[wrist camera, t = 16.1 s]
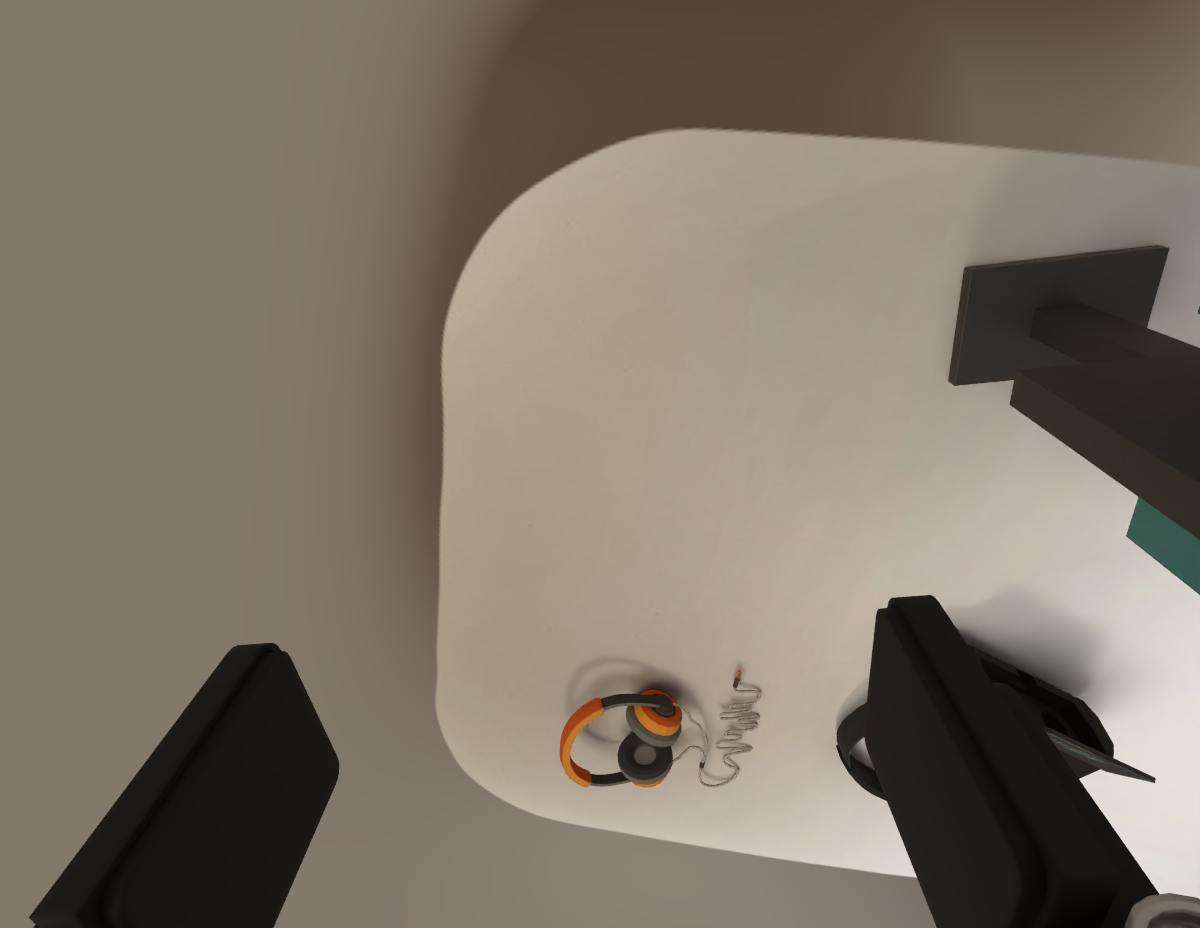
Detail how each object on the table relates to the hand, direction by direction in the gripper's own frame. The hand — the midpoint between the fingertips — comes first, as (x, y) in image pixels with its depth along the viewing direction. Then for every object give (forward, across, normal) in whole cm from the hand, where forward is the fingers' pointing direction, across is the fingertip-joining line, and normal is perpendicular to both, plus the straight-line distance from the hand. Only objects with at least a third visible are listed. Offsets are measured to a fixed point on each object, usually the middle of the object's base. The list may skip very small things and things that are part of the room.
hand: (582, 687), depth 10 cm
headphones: (+36, 0, +44) cm, 57 cm away
